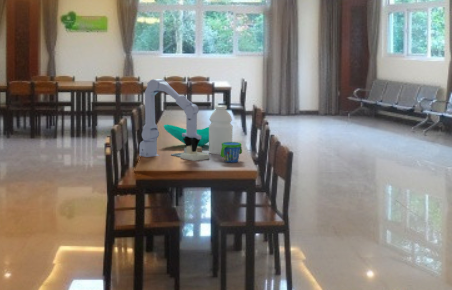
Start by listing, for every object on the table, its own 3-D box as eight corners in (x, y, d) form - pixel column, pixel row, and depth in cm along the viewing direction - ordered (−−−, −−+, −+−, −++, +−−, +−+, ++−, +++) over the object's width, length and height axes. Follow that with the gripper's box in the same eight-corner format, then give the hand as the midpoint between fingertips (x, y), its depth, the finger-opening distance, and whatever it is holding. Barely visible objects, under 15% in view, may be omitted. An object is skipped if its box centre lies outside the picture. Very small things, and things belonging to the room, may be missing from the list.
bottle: (233, 155, 378) (233, 107, 374) (209, 155, 377) (209, 106, 373) (231, 151, 392) (231, 104, 388) (208, 151, 391) (208, 104, 387)
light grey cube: (188, 155, 371) (188, 148, 371) (184, 154, 374) (184, 147, 374) (193, 154, 374) (193, 148, 374) (189, 154, 377) (189, 147, 376)
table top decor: (164, 149, 395) (164, 128, 393) (162, 143, 422) (162, 122, 420) (229, 149, 400) (229, 127, 398) (223, 142, 427) (224, 122, 425)
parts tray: (181, 158, 365) (181, 156, 364) (170, 156, 372) (170, 154, 372) (206, 155, 377) (206, 153, 376) (195, 153, 384) (195, 151, 384)
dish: (193, 161, 355) (193, 156, 354) (180, 159, 363) (180, 153, 363) (209, 159, 362) (209, 154, 362) (196, 156, 370) (196, 151, 370)
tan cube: (196, 154, 375) (196, 147, 375) (192, 153, 378) (192, 146, 378) (201, 153, 378) (202, 147, 377) (197, 153, 381) (197, 146, 380)
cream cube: (191, 154, 358) (191, 146, 357) (186, 153, 361) (186, 145, 360) (196, 153, 360) (196, 146, 360) (192, 152, 363) (192, 145, 363)
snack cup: (227, 164, 347) (227, 145, 346) (214, 162, 355) (214, 143, 354) (248, 161, 358) (248, 143, 356) (234, 158, 366) (235, 140, 364)
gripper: (205, 127, 356) (205, 151, 358) (189, 124, 366) (189, 148, 368) (195, 128, 351) (195, 153, 353) (179, 125, 362) (179, 149, 364)
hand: (191, 151), depth 360 cm, fingers closed on cream cube, 4 cm apart
